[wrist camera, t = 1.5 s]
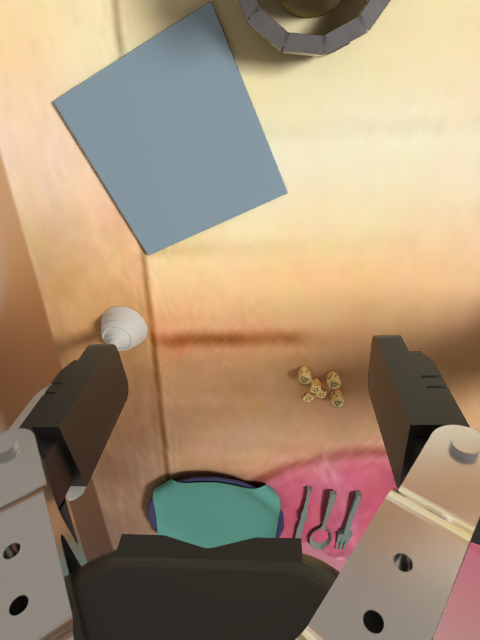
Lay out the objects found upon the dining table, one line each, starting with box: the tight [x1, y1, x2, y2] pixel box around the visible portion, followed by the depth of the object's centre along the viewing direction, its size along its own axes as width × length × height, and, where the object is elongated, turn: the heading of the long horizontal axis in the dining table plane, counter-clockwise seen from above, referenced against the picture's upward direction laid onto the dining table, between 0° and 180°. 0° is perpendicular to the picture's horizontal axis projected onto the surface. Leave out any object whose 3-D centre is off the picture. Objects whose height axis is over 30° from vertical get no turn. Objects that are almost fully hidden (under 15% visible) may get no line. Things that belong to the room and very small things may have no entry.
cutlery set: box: [148, 476, 361, 550], centre depth 57 cm, size 20×30×2 cm, turn 88°
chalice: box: [8, 306, 148, 501], centre depth 34 cm, size 7×7×18 cm
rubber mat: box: [53, 1, 287, 255], centre depth 32 cm, size 14×14×1 cm
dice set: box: [297, 366, 344, 408], centre depth 44 cm, size 5×5×2 cm
